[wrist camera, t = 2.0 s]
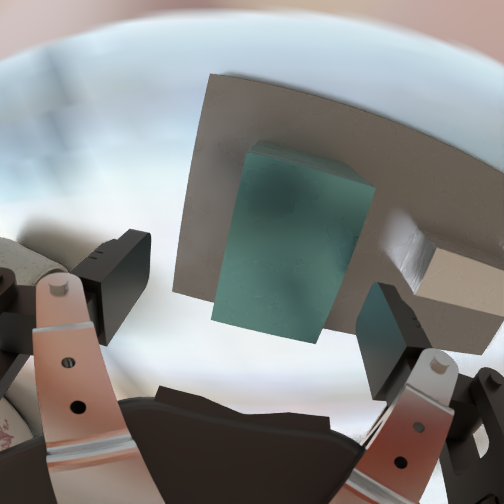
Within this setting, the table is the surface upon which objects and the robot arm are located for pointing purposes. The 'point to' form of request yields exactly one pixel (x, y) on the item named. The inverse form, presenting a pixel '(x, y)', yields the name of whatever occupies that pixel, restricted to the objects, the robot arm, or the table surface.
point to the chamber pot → (12, 426)
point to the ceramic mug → (26, 263)
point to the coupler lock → (289, 241)
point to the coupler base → (379, 214)
